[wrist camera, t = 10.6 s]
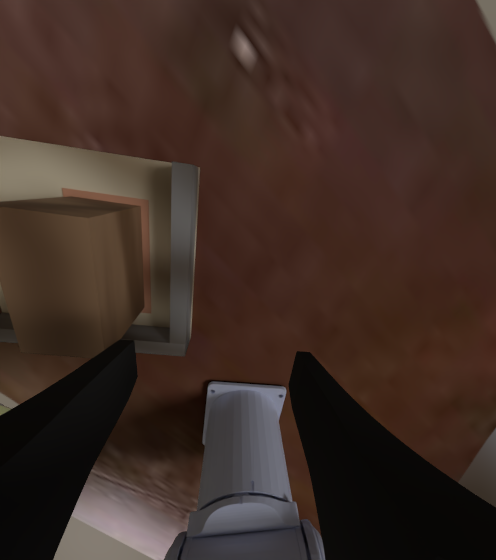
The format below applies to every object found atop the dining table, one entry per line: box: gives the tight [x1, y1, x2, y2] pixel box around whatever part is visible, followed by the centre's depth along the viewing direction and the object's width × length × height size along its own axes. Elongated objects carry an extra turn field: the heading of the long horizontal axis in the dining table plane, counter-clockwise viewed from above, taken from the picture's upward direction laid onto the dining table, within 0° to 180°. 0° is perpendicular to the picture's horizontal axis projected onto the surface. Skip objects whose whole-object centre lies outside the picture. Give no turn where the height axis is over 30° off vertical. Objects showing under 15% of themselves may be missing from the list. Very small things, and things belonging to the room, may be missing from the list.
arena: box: [0, 136, 200, 356], centre depth 16 cm, size 14×15×3 cm
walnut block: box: [0, 196, 144, 358], centre depth 14 cm, size 4×8×6 cm, turn 172°
